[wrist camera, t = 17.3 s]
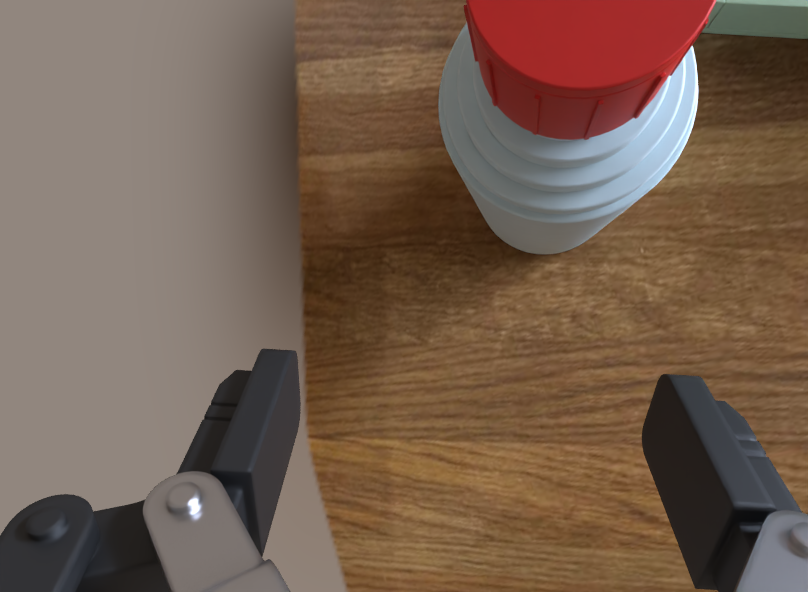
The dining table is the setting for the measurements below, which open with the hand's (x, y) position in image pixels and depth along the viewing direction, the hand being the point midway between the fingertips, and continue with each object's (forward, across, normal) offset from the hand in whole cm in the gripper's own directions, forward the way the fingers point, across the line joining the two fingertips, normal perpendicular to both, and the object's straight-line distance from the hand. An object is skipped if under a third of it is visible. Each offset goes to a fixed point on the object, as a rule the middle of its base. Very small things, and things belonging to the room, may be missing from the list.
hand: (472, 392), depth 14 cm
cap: (+3, -1, -7) cm, 8 cm away
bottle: (+17, -4, +2) cm, 18 cm away
